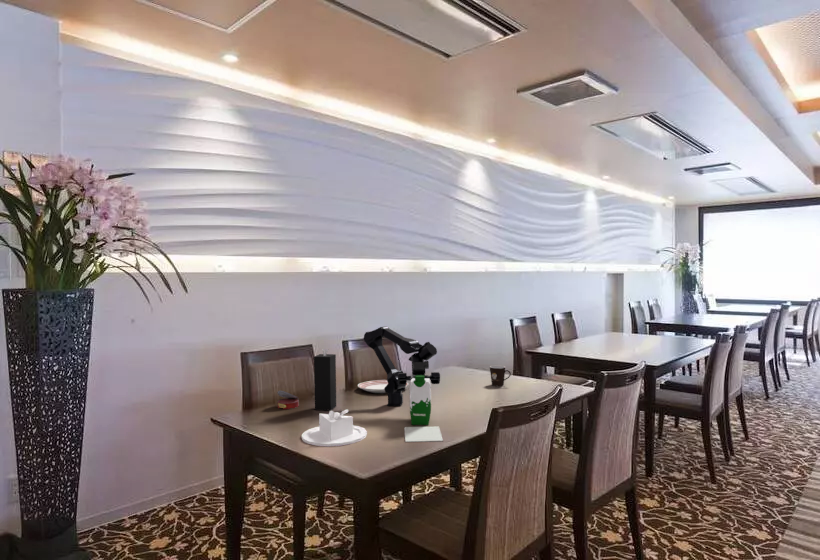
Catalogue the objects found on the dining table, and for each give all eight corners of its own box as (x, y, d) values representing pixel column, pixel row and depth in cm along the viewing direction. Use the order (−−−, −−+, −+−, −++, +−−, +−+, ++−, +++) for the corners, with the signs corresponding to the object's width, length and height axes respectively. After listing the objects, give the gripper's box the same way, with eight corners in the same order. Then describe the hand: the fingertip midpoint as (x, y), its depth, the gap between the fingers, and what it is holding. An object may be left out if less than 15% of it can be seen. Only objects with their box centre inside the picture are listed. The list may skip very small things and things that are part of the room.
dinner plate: (352, 387, 295) (352, 381, 295) (398, 382, 305) (398, 377, 305) (365, 397, 269) (365, 391, 269) (416, 392, 279) (416, 386, 279)
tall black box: (330, 410, 243) (329, 349, 243) (314, 410, 245) (313, 349, 245) (336, 406, 251) (335, 347, 251) (320, 406, 253) (319, 347, 252)
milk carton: (409, 425, 218) (408, 377, 218) (411, 419, 227) (410, 372, 227) (430, 425, 218) (429, 377, 217) (431, 419, 227) (431, 372, 226)
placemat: (404, 427, 215) (404, 427, 215) (438, 427, 216) (438, 426, 216) (405, 442, 197) (405, 441, 197) (443, 441, 198) (442, 440, 198)
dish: (379, 435, 207) (379, 406, 207) (330, 451, 189) (329, 420, 189) (338, 423, 224) (338, 397, 224) (288, 438, 205) (288, 409, 205)
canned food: (277, 416, 253) (273, 396, 257) (298, 411, 258) (293, 391, 261) (281, 410, 244) (276, 389, 248) (302, 405, 249) (297, 384, 252)
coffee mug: (486, 384, 296) (486, 366, 296) (499, 382, 300) (499, 365, 300) (498, 388, 286) (498, 369, 286) (512, 386, 289) (511, 368, 289)
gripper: (397, 354, 236) (398, 385, 225) (439, 354, 236) (442, 384, 226) (397, 369, 244) (398, 399, 233) (438, 368, 244) (440, 398, 233)
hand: (419, 394), depth 231 cm, fingers closed
